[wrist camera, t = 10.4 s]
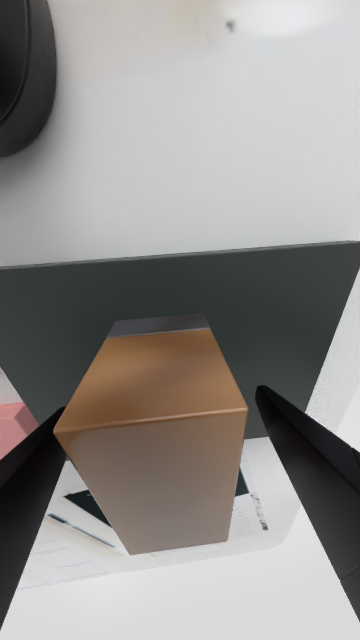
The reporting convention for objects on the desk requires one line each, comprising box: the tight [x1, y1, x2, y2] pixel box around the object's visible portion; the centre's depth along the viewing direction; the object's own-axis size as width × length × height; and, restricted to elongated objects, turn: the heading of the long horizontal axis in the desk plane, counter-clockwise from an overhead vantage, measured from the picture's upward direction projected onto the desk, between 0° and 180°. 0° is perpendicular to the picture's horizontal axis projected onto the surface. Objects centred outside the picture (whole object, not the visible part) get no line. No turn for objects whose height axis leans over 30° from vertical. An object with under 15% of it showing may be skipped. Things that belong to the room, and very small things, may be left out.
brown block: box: [53, 313, 248, 555], centre depth 7 cm, size 4×8×5 cm, turn 4°
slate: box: [0, 241, 360, 461], centre depth 10 cm, size 17×13×1 cm
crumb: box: [0, 403, 39, 460], centre depth 11 cm, size 4×4×1 cm
